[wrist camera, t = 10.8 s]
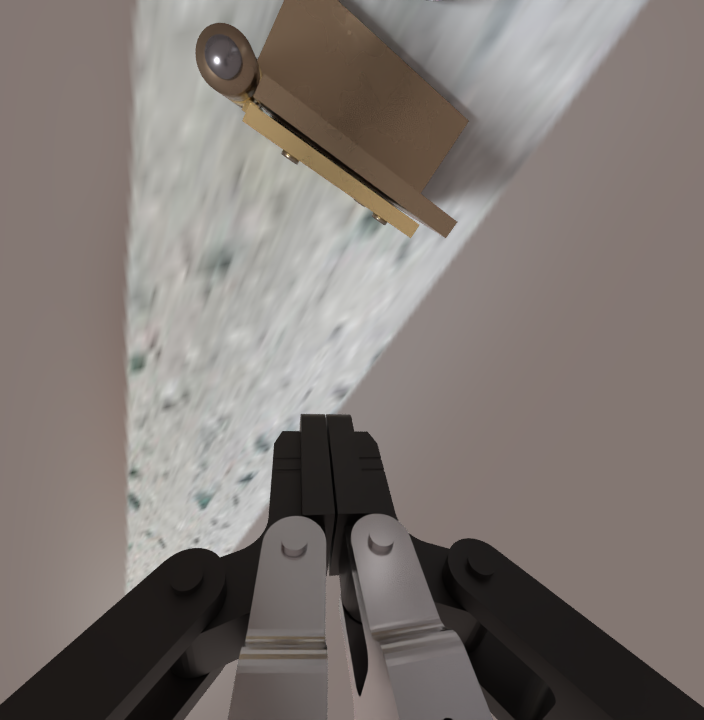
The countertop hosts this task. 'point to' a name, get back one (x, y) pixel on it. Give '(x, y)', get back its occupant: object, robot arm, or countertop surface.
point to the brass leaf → (324, 166)
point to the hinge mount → (342, 98)
